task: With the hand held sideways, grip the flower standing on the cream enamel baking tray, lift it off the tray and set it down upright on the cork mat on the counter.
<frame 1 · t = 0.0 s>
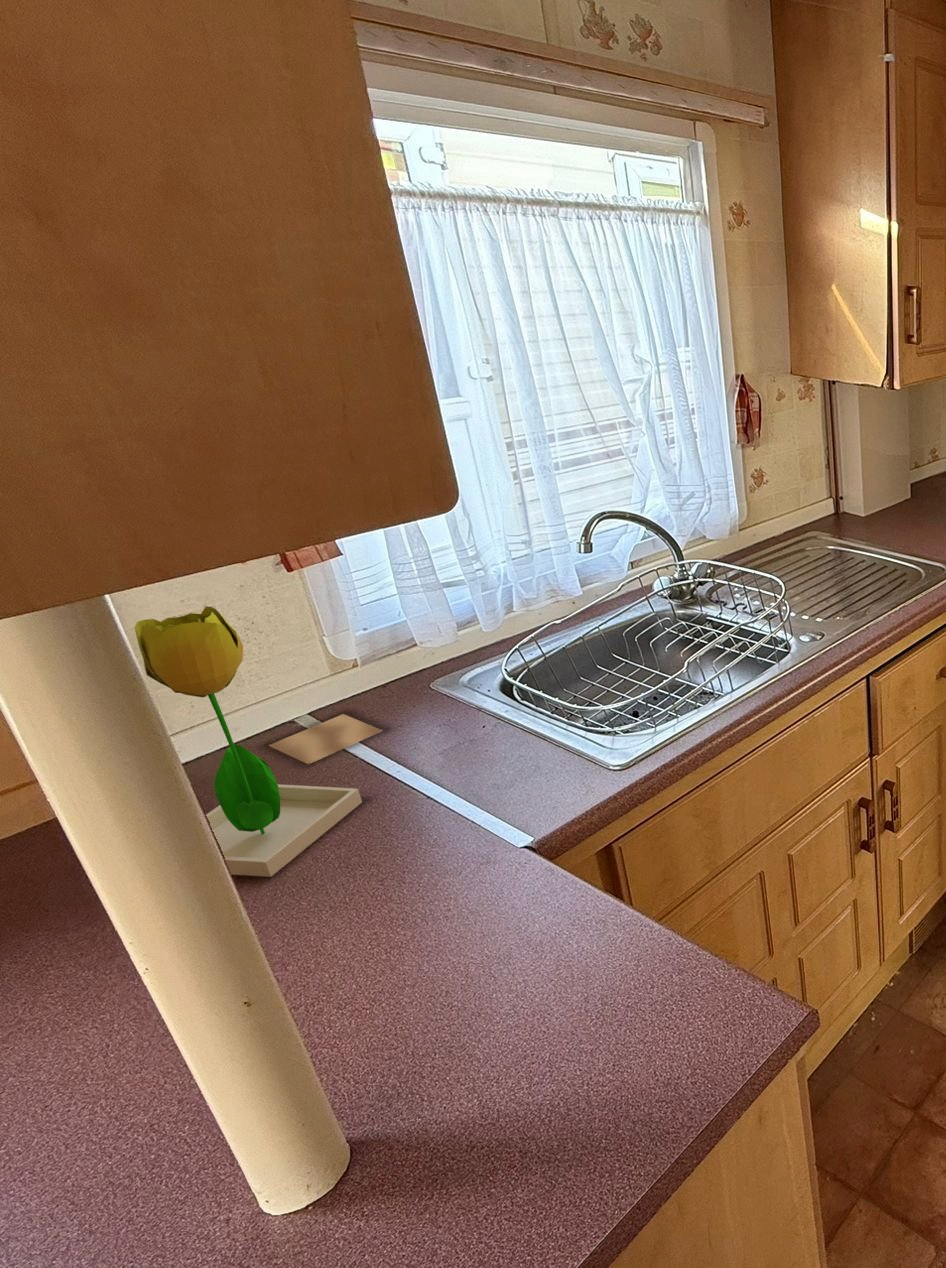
flower: (263, 834, 106), resting on baking tray
baking tray: (264, 836, 106), on the worktop
cork mat: (327, 740, 126), on the worktop
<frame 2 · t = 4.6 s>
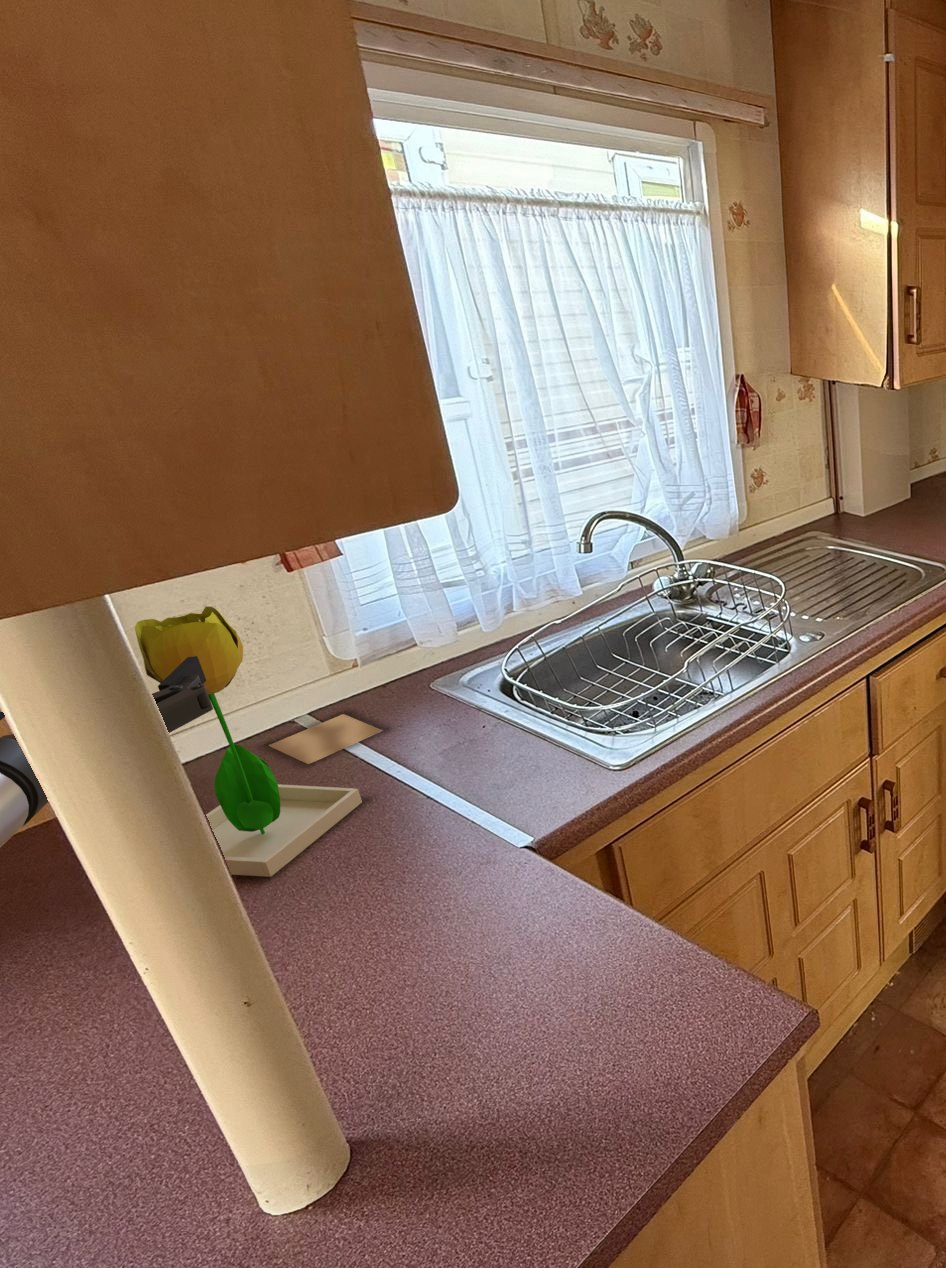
hand: (105, 680, 81), 30 cm above the worktop, tool horizontal, fingers open, 13 cm apart
nothing on the worktop moved.
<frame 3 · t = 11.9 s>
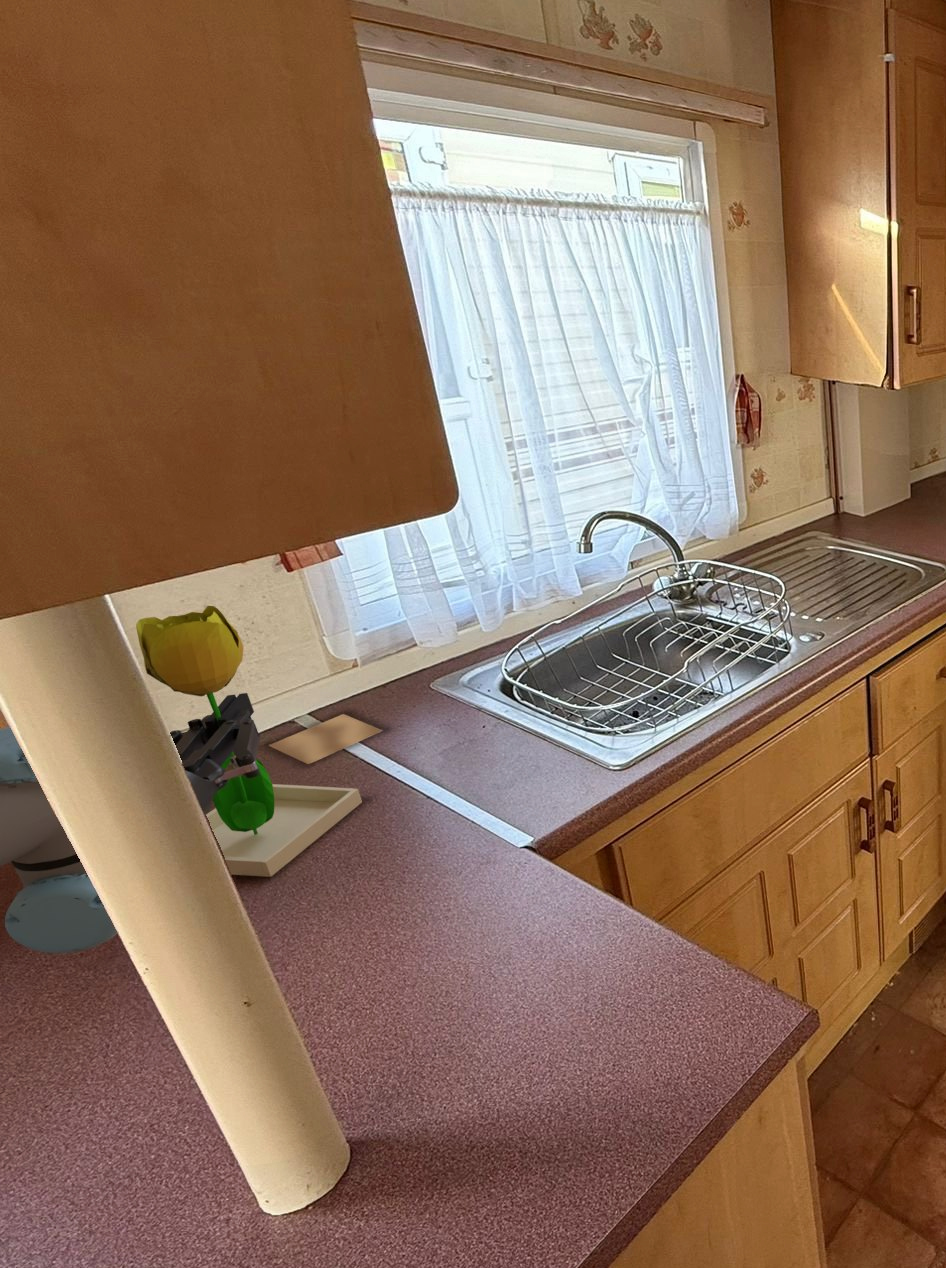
hand: (240, 703, 104), 16 cm above the worktop, tool horizontal, fingers closed on flower
flower: (256, 834, 106), point 1 cm above the worktop, touching gripper
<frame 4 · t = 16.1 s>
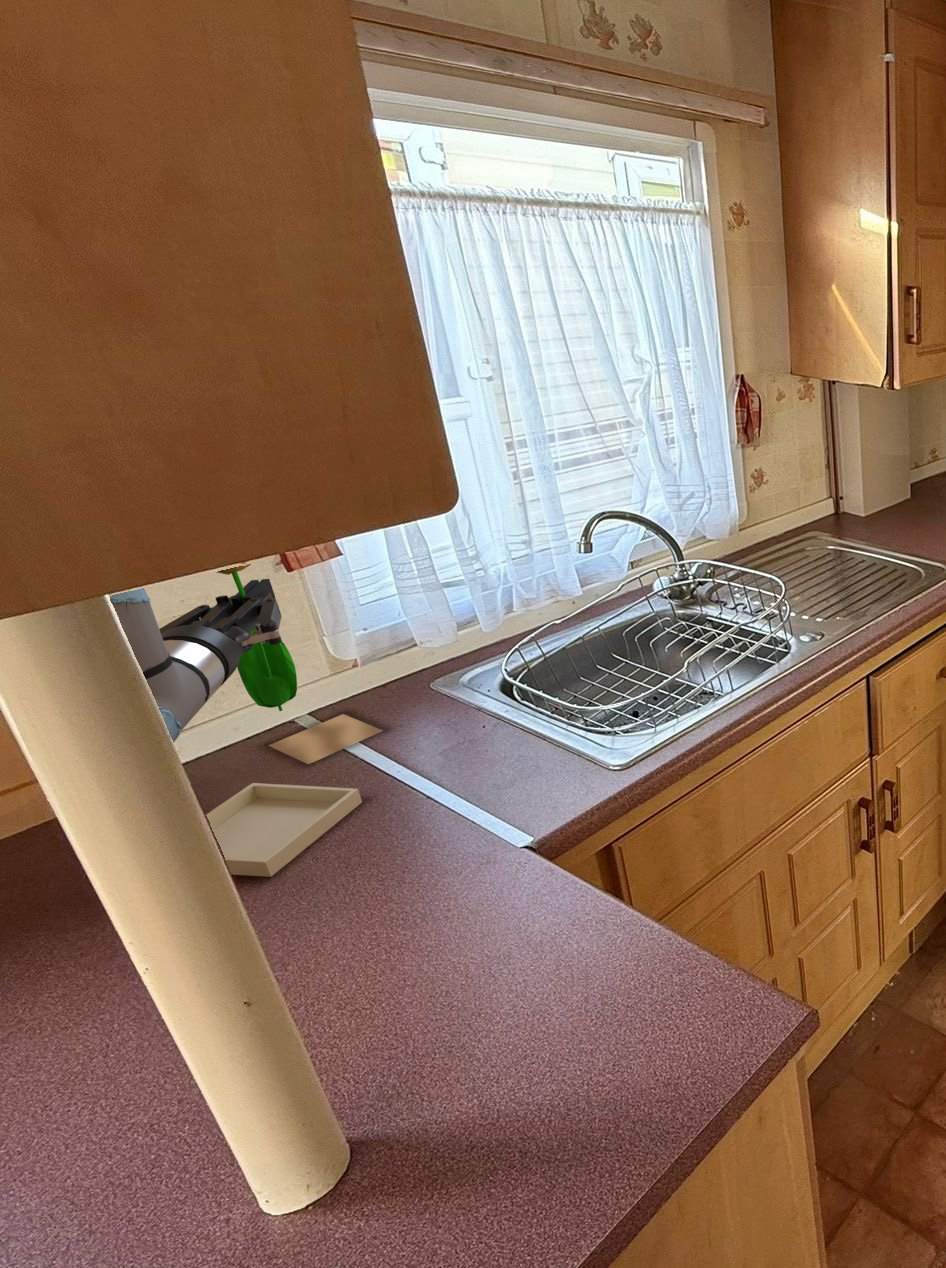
hand: (263, 588, 112), 26 cm above the worktop, tool horizontal, fingers closed on flower
flower: (281, 711, 114), point 10 cm above the worktop, touching gripper
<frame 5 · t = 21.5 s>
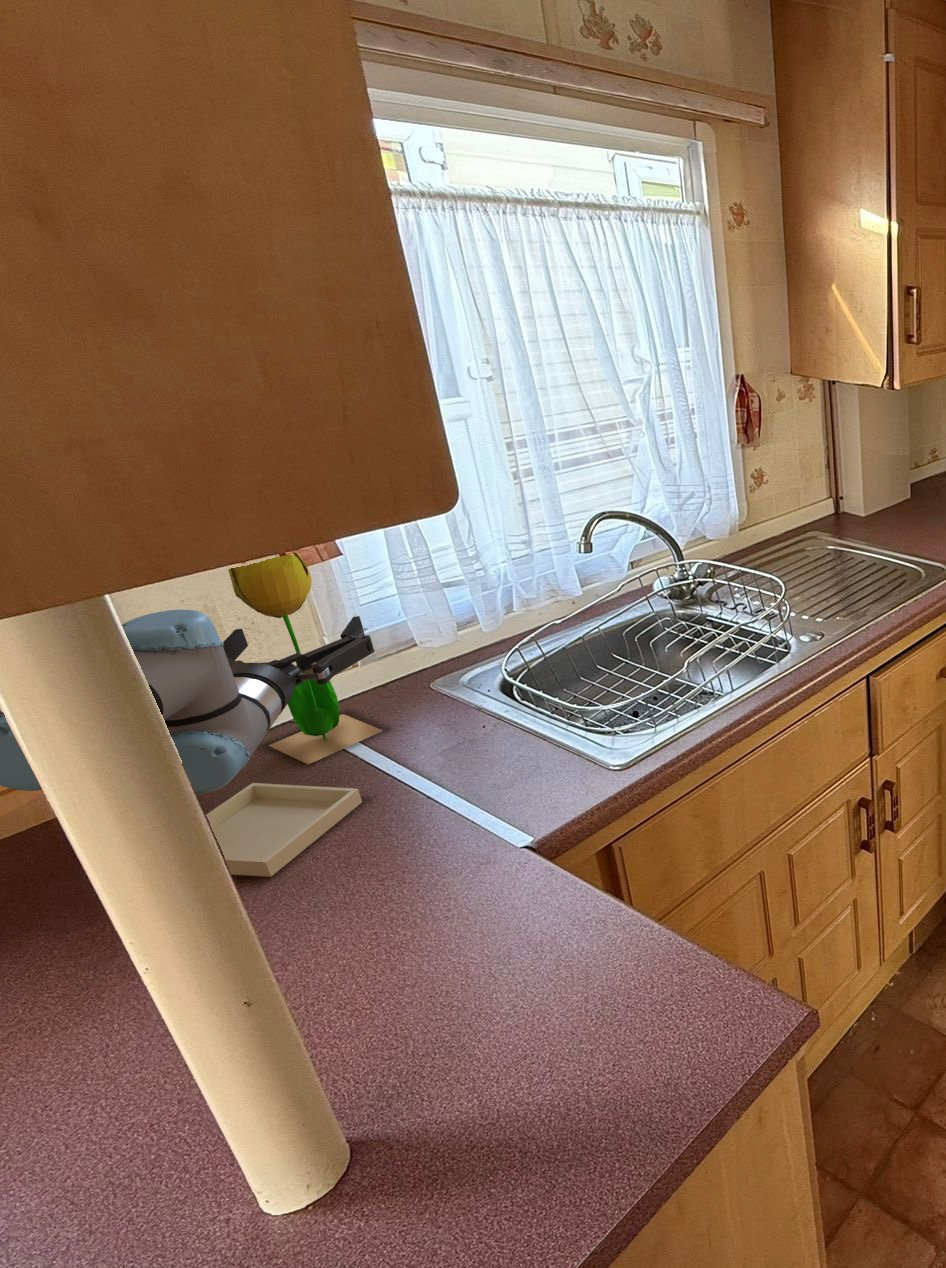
hand: (301, 630, 122), 17 cm above the worktop, tool horizontal, fingers open, 13 cm apart
flower: (325, 739, 125), resting on cork mat
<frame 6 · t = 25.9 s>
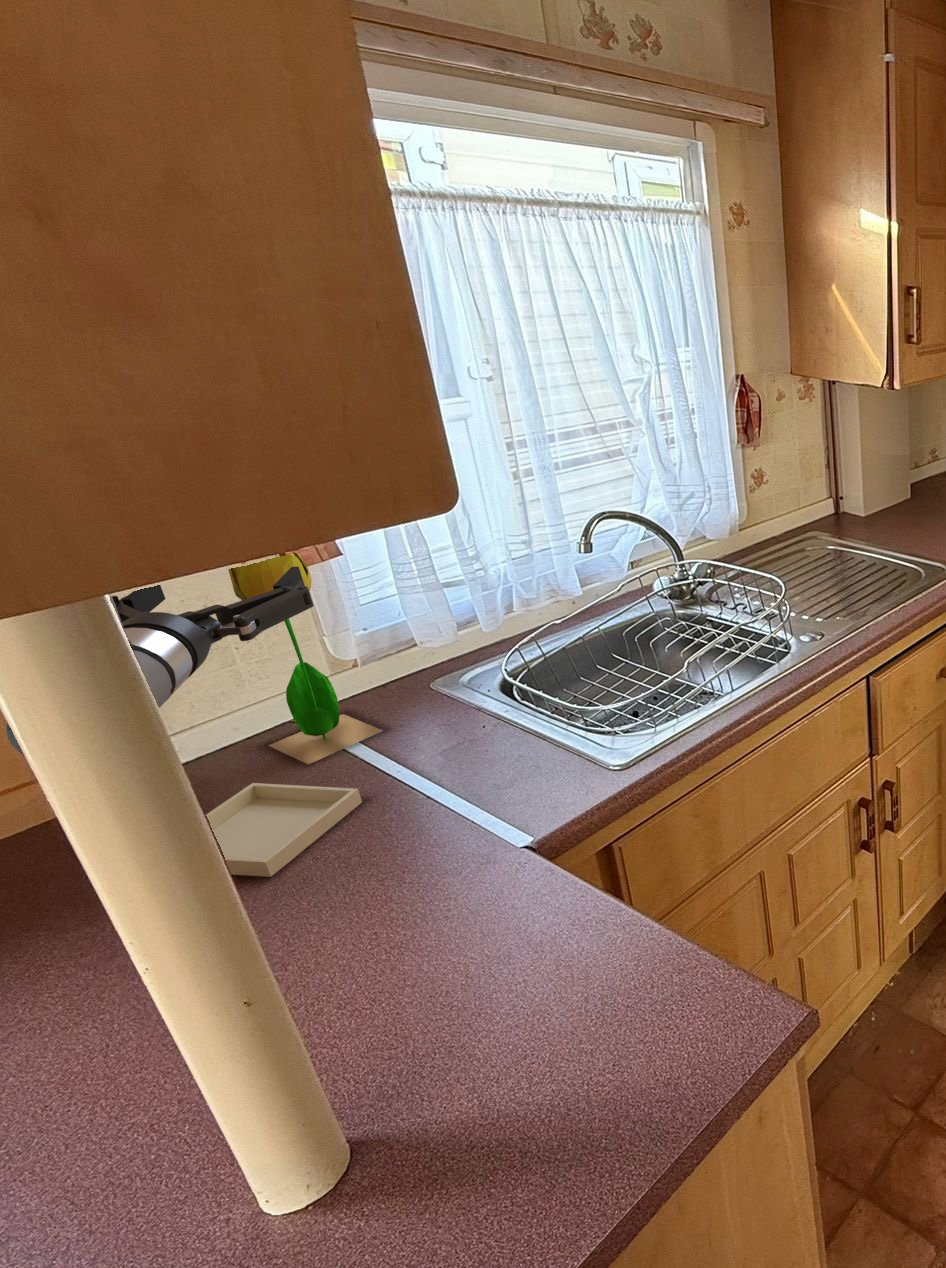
hand: (229, 582, 104), 30 cm above the worktop, tool horizontal, fingers open, 13 cm apart
nothing on the worktop moved.
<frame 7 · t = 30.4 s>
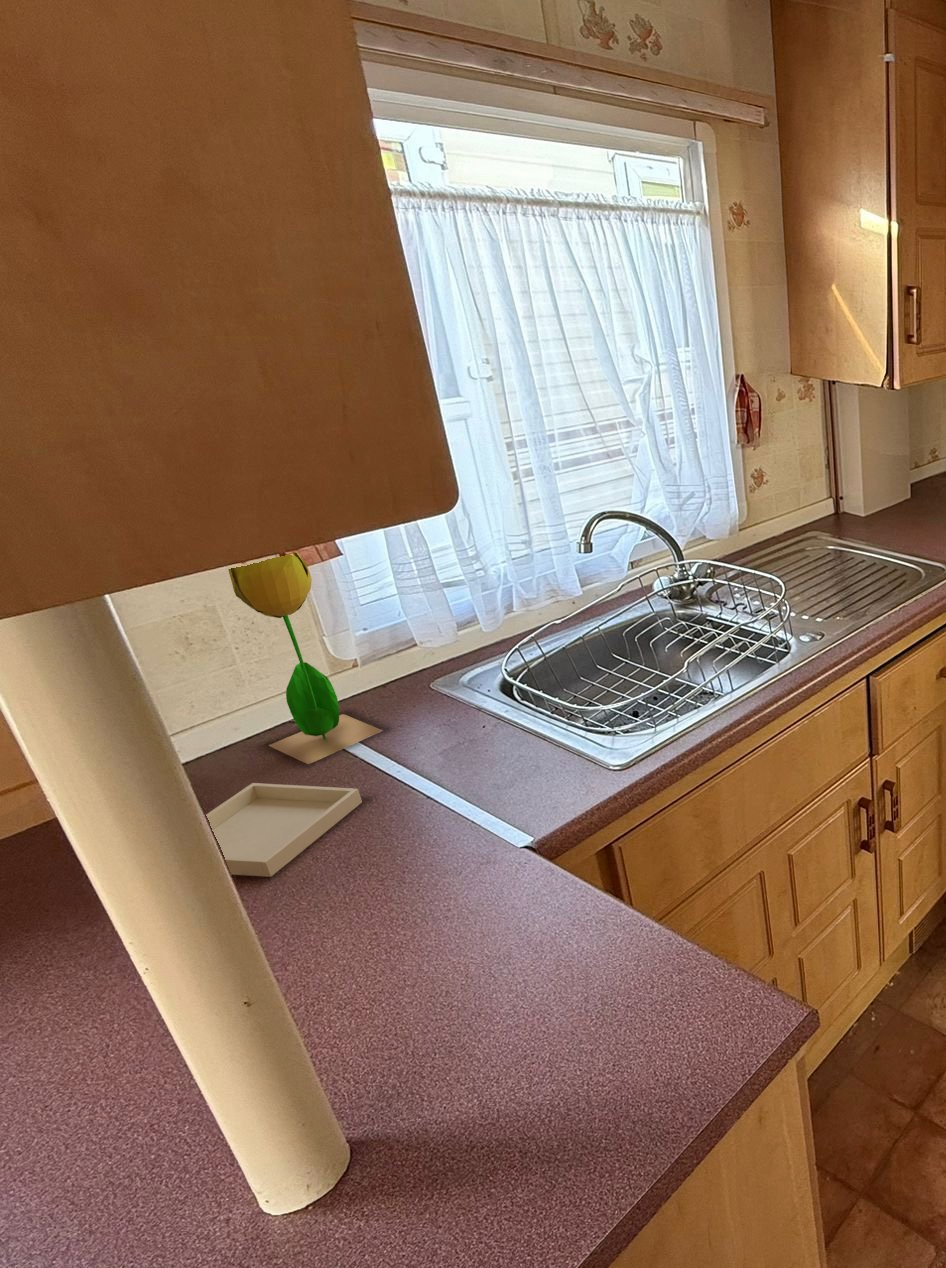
nothing on the worktop moved.
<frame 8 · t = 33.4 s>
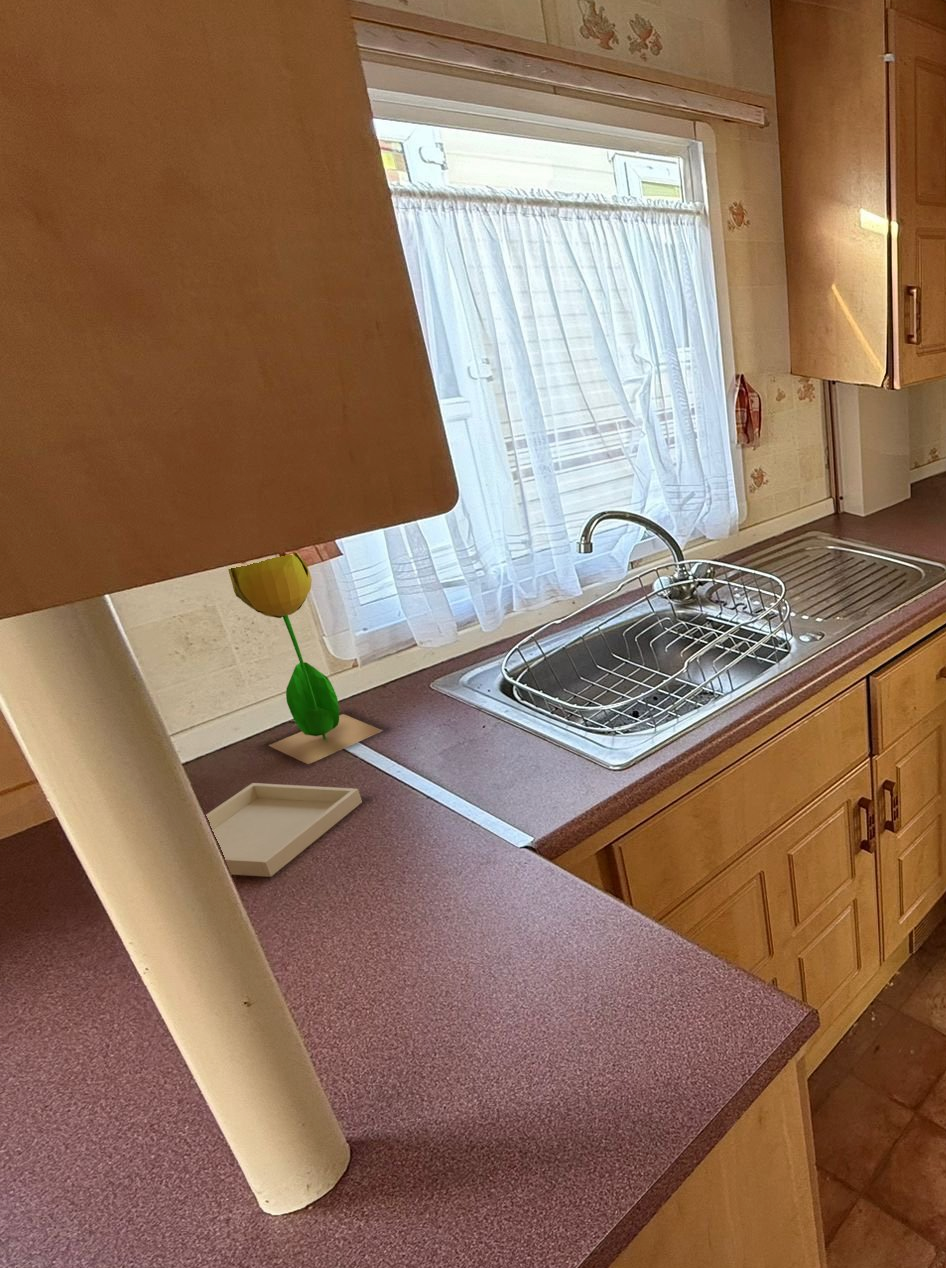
nothing on the worktop moved.
at the end: flower inside the target area on the cork mat (0.2 cm from its centre), point 0.3 cm above the cork mat's base; flower tilted 0°; flower touching cork mat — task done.
